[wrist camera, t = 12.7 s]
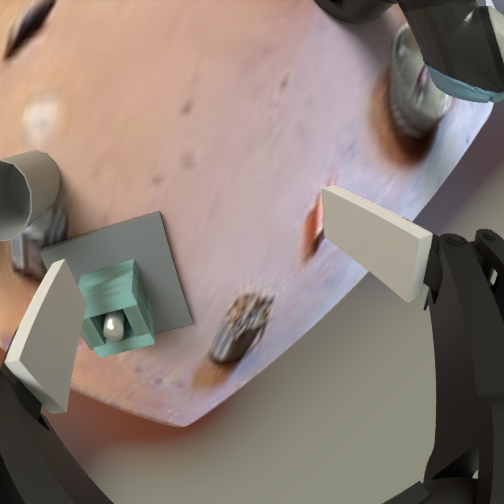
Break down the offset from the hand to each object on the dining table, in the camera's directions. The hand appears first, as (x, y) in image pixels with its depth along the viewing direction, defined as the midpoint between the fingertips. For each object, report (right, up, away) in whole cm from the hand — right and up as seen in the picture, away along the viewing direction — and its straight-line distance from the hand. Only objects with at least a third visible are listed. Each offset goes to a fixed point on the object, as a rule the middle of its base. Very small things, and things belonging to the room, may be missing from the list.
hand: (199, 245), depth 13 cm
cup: (-26, +9, +14) cm, 31 cm away
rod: (-16, -6, +23) cm, 29 cm away
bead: (-16, -6, +23) cm, 29 cm away
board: (-17, -5, +24) cm, 30 cm away
